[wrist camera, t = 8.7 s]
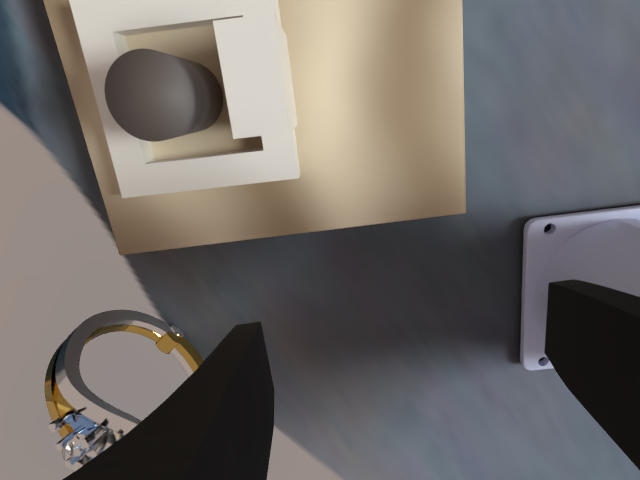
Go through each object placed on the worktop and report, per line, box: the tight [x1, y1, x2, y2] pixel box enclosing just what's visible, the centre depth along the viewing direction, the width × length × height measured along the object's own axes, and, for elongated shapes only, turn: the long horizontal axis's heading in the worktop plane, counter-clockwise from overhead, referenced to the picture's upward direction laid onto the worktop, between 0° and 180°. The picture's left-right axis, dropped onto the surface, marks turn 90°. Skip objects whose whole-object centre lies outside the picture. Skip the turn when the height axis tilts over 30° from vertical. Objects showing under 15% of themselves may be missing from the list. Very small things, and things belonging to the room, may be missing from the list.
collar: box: [69, 0, 300, 198], centre depth 14 cm, size 7×7×5 cm
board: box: [43, 0, 466, 255], centre depth 14 cm, size 15×16×6 cm
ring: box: [45, 310, 204, 472], centre depth 17 cm, size 7×3×8 cm, turn 44°
